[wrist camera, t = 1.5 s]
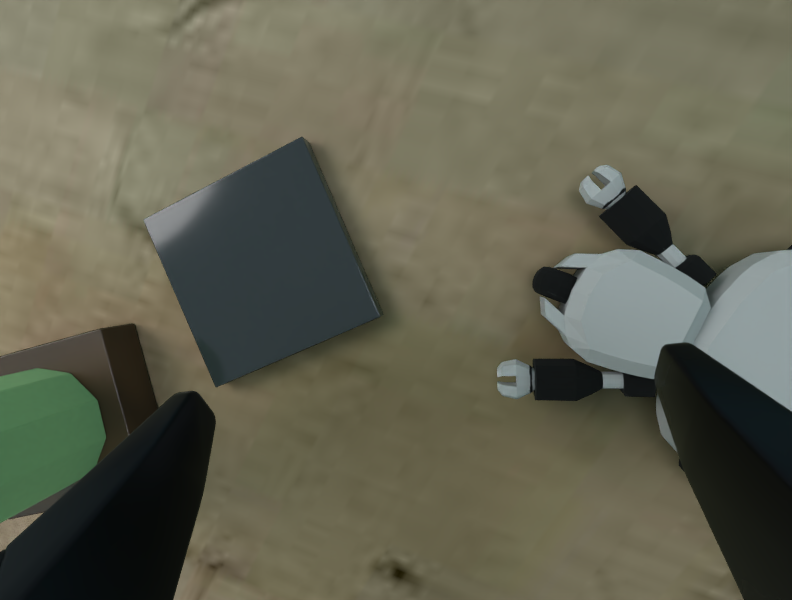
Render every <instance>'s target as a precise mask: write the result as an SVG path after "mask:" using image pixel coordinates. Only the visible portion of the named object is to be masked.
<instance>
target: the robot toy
mask: <svg viewBox="0 0 792 600" xmlns="http://www.w3.org/2000/svg"><path fill="white" fill-rule="evenodd" d="M592 174H593V175H595V176H596V177H597V178H598V179H599V180H600V181H601V182H602V183H603V184H604V185H605V187H604V188H603V189H602V190H601V189H600V188H599V187H598V186H597V185H596V184H595V183H594V182H593V181H592V180H591V179H590V177H589V176H587V177H586V178H585V179H584V180H583V181H582V182H581V183H580V188H579V192H580V193H581V195H582V197H583V198H584V200H585V202H586V203H587V204H590V205H593V206H596V207H599V208H602V209H607V210H605V211H604V212H603V213H602V214H601V215H600V216H599V217H600V218H601V219H602V220H603V221H604V222H605V223H606V224H607V225H608V226H609V227H610V228H611V229H612V230H613V231H614V232H615V233H616V234H617V235H618V236H619V237H620V238H621V239H622V240H623V241H624V242H625V243H626V244H627V245H629V246H632V247H634V248H637V249H640V250H642V251H645V252H648V253H652V254H655V255H657V256H658V257H659V258H660V259H661V260H662V261H660V260H658V259H656V258H654V257H652V256H650V255H648V254H646V253H644V252H642V251H640V250H625V249H616V250H613V251H609V252H606V253H603V254H577V253H575V254H573V255H570V256H567V257H566V258H565V259H564V260H562V261H561V262H560V263H559V264H557V265H556V266H555V267H554V268H551V267H543V268H541V269H539V270H538V271H537V273H536V274H535V276H534V279H533V289H534V291H535V292H537V293H539V294H541V295H543V296H546V297H548V298H551V299H553V300H556V301H558V302H560V305H559V309H556V308H555V307H554V306H553V305H552V304H551V303H550V302H549V301H548V300H547V299H545V298H544V297H540V307H541V314H542V315H543V316H544V317H545V318H546V319H547V320H548V321H549V322H550V323H551V324H552V325H554V326H555V327H556V328H557V329H558V330H559V332H560V334H561V337H562V339H563V341H564V342H565V343H566V344H567V345H568V346H569V347H571V348H572V349H573V350H574V351H575V352H576V353H578V354H579V355H580V356H581V357H582V358H583V359H585V360H586V361H587V362H590V363H593V364H596V365H599V366H602V367H605V368H609V369H612V370H615V371H618V372H601V371H599V370H597V369H595V368H593V367H591V366H588V365H586V364H584V363H581V362H579V361H577V360H574V359H533V368H532V367H531V366H529V365H527V364H525V363H523V362H521V361H519V360H517V359H514V360H509V361H505V362H501V364H500V365H499V366H498V368H497V377H500V376H516V382H499V381H498V391H499V392H500V393H501V394H502V396H505V397H509V398H513V399H519V398H521V397H523V396H525V395H527V394H529V393H531V392H533V391H534V397H535V400H558V401H577V400H580V399H582V398H584V397H586V396H589V395H591V394H593V393H595V392H597V391H599V390H600V389H602V388H620V390H621V392H622V393H623V394H624V395H625V396H629V397H655V393H656V386H655V381H654V375H655V370H656V366H657V362H658V358H659V354H660V350H661V348H662V347H663V346H664V345H665V344H672V343H682V342H687V343H691V344H693V345H695V346H696V347H698V348H699V349H701V350H702V351H704V352H705V353H706V354H708V355H709V356H711V357H712V358H714V359H715V360H717V361H718V362H720V363H721V364H723V365H724V366H726V367H727V368H729V369H730V370H732V371H733V372H734V373H736V374H737V375H739V376H740V377H742V378H743V379H745V380H746V381H748V382H749V383H751V384H752V385H754V386H755V387H757V388H758V389H760V390H761V391H762V392H764V393H765V394H767V395H768V396H770V397H771V398H773V399H774V400H776V401H777V402H779V403H780V404H782V405H783V406H785V407H786V408H788V409H789V410H790V411H792V245H791V246H790V247H789V248H788V249H787V250H779V251H771V252H763V253H754V254H752V255H750V256H748V257H746V258H744V259H742V260H741V261H739V262H737V263H735V264H733V265H731V266H729V267H728V268H727V269H726V270H725V271H724V272H722V273H721V274H720V275H719V276H718V277H717V278H716V279H715V280H714V281H713V282H712V283H711V284H710V285H709V286H708V288H707V289H705V287H703V286H704V285H705V284H706V283H707V282H709V281H710V280H711V279H712V278H713V277H714V276H715V275H716V273H715V272H714V271H713V270H712V269H711V268H710V267H709V266H708V265H707V264H706V263H705V262H704V261H703V260H702V259H701V258H700V257H699V256H697V255H688V256H684V255H683V254H682V253H681V252H680V251H679V250H678V249H677V248H676V247H675V246H674V245H673V242H672V237H671V231H670V228H669V224H668V220H667V217H666V214H665V213H664V212H663V211H662V210H661V209H660V208H659V207H658V206H657V205H656V204H655V203H654V202H653V201H652V200H651V199H650V198H649V197H648V196H647V195H646V194H645V193H644V192H643V191H642V190H641V189H640V188H639V187H638V186H637V185H636V186H634V187H633V188H631V189H630V190H629V191H628V192H626V188H625V184H624V181H623V178H622V174H621V173H620V172H619V171H617V170H616V169H614V168H612V167H611V166H609V165H604V166H598V167H597V168H596V169H595V170H594V171H593V172H592ZM555 268H556V269H555ZM558 269H577V270H576V272H575V274H574V275H570V274H568V273H566V272H563V271H560V270H558ZM656 414H657V419H658V423H659V427H660V432H661V435H662V436H663V437H664V438H665V440H666V441H667V442H668V443H669V444H670V445H671V446H672V447H673V449H674V450H675V451H676V452H677V450H676V447H675V444H674V441H673V438H672V435H671V432H670V429H669V426H668V423H667V420H666V417H665V414H664V411H663V408H662V405H661V402H660V399H659V396H658V393H657V398H656ZM679 466H680V468H681V469H682V470H683V471H684V469H683V467H682V464H681V461H680V459H679ZM684 472H685V471H684Z"/></svg>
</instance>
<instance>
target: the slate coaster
mask: <svg viewBox="0 0 792 600" xmlns="http://www.w3.org/2000/svg"><path fill="white" fill-rule="evenodd" d="M144 223H145V225H146V227H147V230H148V232H149V234H150V237H151V239H152V241H153V243H154V246H155V248H156V250H157V253H158V255H159V257H160V260H161V262H162V264H163V267H164V269H165V271H166V274H167V276H168V278H169V280H170V283H171V285H172V287H173V290H174V292H175V294H176V297H177V299H178V301H179V304H180V306H181V308H182V311H183V313H184V315H185V317H186V320H187V322H188V324H189V327H190V329H191V331H192V334H193V336H194V338H195V341H196V343H197V345H198V347H199V350H200V352H201V354H202V357H203V359H204V361H205V364H206V366H207V368H208V371H209V373H210V375H211V378H212V380H213V382H214V384H215V387H219V386H221V385H223V384H225V383H228V382H230V381H232V380H235V379H237V378H239V377H242V376H244V375H246V374H249V373H251V372H253V371H256V370H258V369H260V368H263V367H265V366H267V365H270V364H272V363H274V362H277V361H279V360H281V359H284V358H286V357H288V356H291V355H293V354H295V353H297V352H300V351H302V350H304V349H307V348H309V347H311V346H314V345H316V344H318V343H321V342H323V341H325V340H328V339H330V338H332V337H335V336H337V335H339V334H342V333H344V332H346V331H349V330H351V329H353V328H356V327H358V326H360V325H363V324H365V323H367V322H369V321H372V320H374V319H376V318H379V317H381V316H383V312H382V309H381V307H380V305H379V303H378V300H377V298H376V296H375V293H374V291H373V289H372V286H371V284H370V282H369V280H368V277H367V275H366V273H365V270H364V268H363V266H362V263H361V261H360V259H359V256H358V254H357V252H356V250H355V247H354V245H353V243H352V240H351V238H350V236H349V233H348V231H347V229H346V227H345V224H344V222H343V220H342V217H341V215H340V213H339V210H338V208H337V206H336V203H335V201H334V199H333V197H332V194H331V192H330V190H329V187H328V185H327V183H326V180H325V178H324V176H323V174H322V171H321V169H320V167H319V164H318V162H317V160H316V157H315V155H314V153H313V150H312V148H311V146H310V144H309V142H308V141H307V140H306V139H304V138H303V137H300V138H298V139H296V140H295V141H293V142H291V143H289V144H287V145H285V146H283V147H281V148H279V149H277V150H275V151H273V152H272V153H270V154H268V155H266V156H264V157H262V158H260V159H258V160H256V161H254V162H252V163H250V164H249V165H247V166H245V167H243V168H241V169H239V170H237V171H235V172H233V173H231V174H229V175H228V176H226V177H224V178H222V179H220V180H218V181H216V182H214V183H212V184H210V185H208V186H206V187H205V188H203V189H201V190H199V191H197V192H195V193H193V194H191V195H189V196H187V197H185V198H183V199H182V200H180V201H178V202H176V203H174V204H172V205H170V206H168V207H166V208H164V209H162V210H161V211H159V212H157V213H155V214H153V215H151V216H149V217H147V218H145V219H144Z"/></svg>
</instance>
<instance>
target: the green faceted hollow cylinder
mask: <svg viewBox="0 0 792 600" xmlns="http://www.w3.org/2000/svg"><path fill="white" fill-rule="evenodd" d="M105 440H106V433H105V429H104V425H103V421H102V416H101V412H100V408H99V404H98V400H97V399H96V398H95V397H94V396H93V395H92V394H91V393H90V392H89V391H88V390H87V389H86V388H85V387H84V386H83V385H82V384H81V383H80V382H79V381H78V380H77V379H76V378H75V377H74V376H73V375H72V374H70V373H67V372H60V371H54V370H47V369H41V368H35V369H31V370H27V371H22V372H18V373H13V374H9V375H4V376H0V523H1V522H3V521H5V520H7V519H9V518H11V517H13V516H14V515H16V514H18V513H20V512H22V511H24V510H25V509H27V508H29V507H31V506H33V505H35V504H37V503H38V502H40V501H42V500H44V499H46V498H48V497H49V496H51V495H53V494H55V493H57V492H59V491H61V490H62V489H64V488H66V487H68V486H70V485H71V484H73V483H75V482H76V481H78V480H80V479H81V478H82V477H84V476H85V475H86V474H87V473H88V472H89V471H90V470H91V469H92V468H93V467H95V466H96V464H97V462H98V459H99V456H100V454H101V451H102V448H103V445H104V443H105Z"/></svg>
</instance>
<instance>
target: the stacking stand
mask: <svg viewBox="0 0 792 600" xmlns="http://www.w3.org/2000/svg"><path fill="white" fill-rule="evenodd" d="M35 368H41V369H47V370H54V371H60V372H67V373H70V374H72V375H73V376H74V377H75V378H76V379H77V380H78V381H79V382H80V383H81V384H82V385H83V386H84V387H85V388H86V389H87V390H88V391H89V392H90V393H91V394H92V395H93V396H94V397H95V398H96V399H97V400H98V404H99V408H100V412H101V416H102V421H103V425H104V429H105V433H106V440H105V443H104V445H103V448H102V451H101V454H100V456H99V459H98V462H97V464H98V463H99V462H100V461H101V460H102V459H103V458H104V457H106V456H107V455H108V454H109V453H110V452H111V451H112V450H113V449H114V448H115V447H117V446H118V445H119V444H120V443H121V442H122V441H123V440H124V439H125V438H126V437H128V436H129V435H130V434H131V433H132V432H133V431H134V430H135V429H136V428H137V427H138V426H140V425H141V424H142V423H143V422H144V421H145V420H146V419H147V418H148V417H149V416H151V415H152V414H153V413H154V412H155V411H156V410H157V405H156V401H155V398H154V394H153V390H152V387H151V383H150V379H149V376H148V372H147V369H146V365H145V361H144V358H143V354H142V350H141V347H140V343H139V339H138V336H137V332H136V329H135V325H134V324H126V325H120V326H113V327H107V328H101V329H97V330H93V331H90V332H86V333H82V334H79V335H75V336H72V337H68V338H64V339H61V340H57V341H53V342H50V343H46V344H43V345H39V346H35V347H32V348H28V349H25V350H21V351H17V352H14V353H10V354H6V355H3V356H0V376H4V375H9V374H13V373H18V372H22V371H27V370H31V369H35ZM97 464H96V465H97ZM78 481H79V480H78ZM78 481H76V482H75V483H73V484H71V485H70V486H68V487H66V488H64V489H62V490H61V491H59V492H57V493H55V494H53V495H51V496H49V497H48V498H46V499H44V500H42V501H40V502H38V503H37V504H35V505H33V506H31V507H29V508H27V509H25V510H24V511H22V512H20V513H18V514H16V515H14V516H13V517H11V518H9V519H13V518H18V517H23V516H28V515H33V514H38V513H43V512H45V511H46V510H47V509H48V508H49V507H51V506H52V505H53V504H54V503H55V502H56V501H57V500H58V499H59V498H60V497H62V496H63V495H64V494H65V493H66V492H67V491H68V490H69V489H70V488H71V487H73V486H74V485H75V484H76V483H77V482H78Z"/></svg>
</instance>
